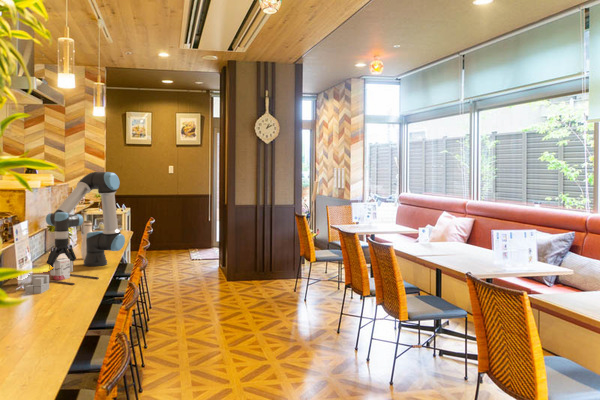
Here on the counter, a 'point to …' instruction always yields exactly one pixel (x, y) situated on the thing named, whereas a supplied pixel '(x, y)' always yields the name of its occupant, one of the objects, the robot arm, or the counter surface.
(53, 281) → the guide rails
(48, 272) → the end stop
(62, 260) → the ink box
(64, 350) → the counter surface
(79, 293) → the counter surface
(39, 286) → the puzzle cube
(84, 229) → the water bottle
